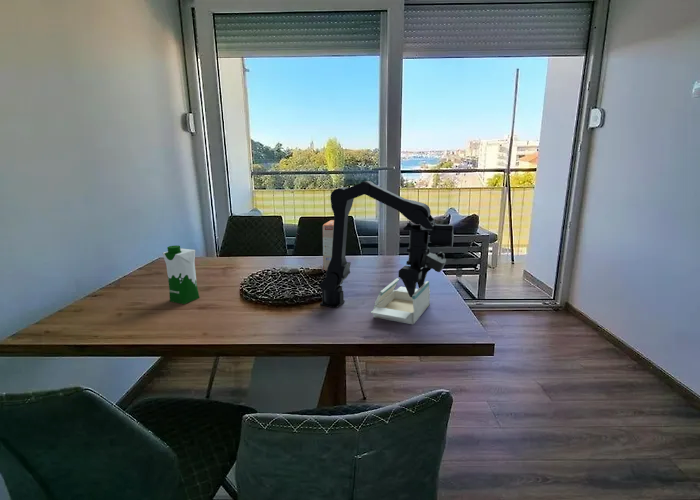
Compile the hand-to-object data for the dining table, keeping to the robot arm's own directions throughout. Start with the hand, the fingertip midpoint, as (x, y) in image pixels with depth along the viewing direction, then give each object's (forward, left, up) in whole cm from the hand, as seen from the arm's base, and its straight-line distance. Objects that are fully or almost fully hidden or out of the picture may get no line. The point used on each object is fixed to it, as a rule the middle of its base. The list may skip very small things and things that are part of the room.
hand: (416, 292), depth 125 cm
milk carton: (-78, -23, -7) cm, 82 cm away
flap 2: (+2, 0, -3) cm, 4 cm away
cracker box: (-50, +36, -7) cm, 62 cm away
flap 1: (-11, 0, -3) cm, 11 cm away
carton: (-4, 0, -7) cm, 8 cm away
